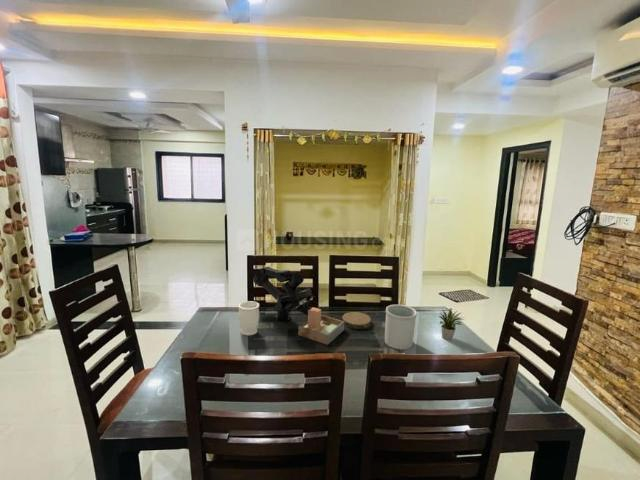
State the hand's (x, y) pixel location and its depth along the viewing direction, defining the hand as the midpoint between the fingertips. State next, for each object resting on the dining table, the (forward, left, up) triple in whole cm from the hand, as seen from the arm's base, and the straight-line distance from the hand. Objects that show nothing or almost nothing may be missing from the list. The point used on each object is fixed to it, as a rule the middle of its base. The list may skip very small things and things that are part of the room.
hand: (309, 315), depth 180 cm
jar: (-24, -20, -8) cm, 33 cm away
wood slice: (+18, +22, -8) cm, 29 cm away
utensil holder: (+45, +13, -8) cm, 47 cm away
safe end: (+12, 0, -8) cm, 15 cm away
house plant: (+65, +31, -8) cm, 72 cm away
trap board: (+4, 0, -8) cm, 9 cm away
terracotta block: (+3, 0, -5) cm, 6 cm away
